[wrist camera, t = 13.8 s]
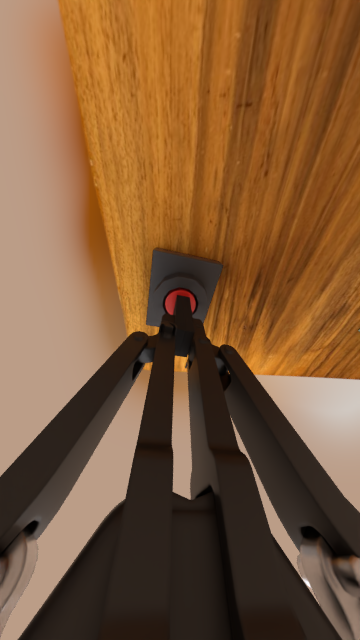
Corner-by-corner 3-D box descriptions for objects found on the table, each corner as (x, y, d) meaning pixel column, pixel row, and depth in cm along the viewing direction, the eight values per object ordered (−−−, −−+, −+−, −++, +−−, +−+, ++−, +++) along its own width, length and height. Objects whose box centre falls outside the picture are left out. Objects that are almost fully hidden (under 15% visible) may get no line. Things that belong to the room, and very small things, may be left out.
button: (168, 282, 18) (167, 287, 16) (197, 288, 18) (199, 293, 17) (164, 308, 20) (163, 315, 18) (190, 313, 20) (191, 320, 18)
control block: (155, 247, 18) (150, 252, 14) (219, 261, 19) (228, 268, 15) (148, 317, 23) (143, 332, 20) (198, 325, 24) (201, 341, 20)
